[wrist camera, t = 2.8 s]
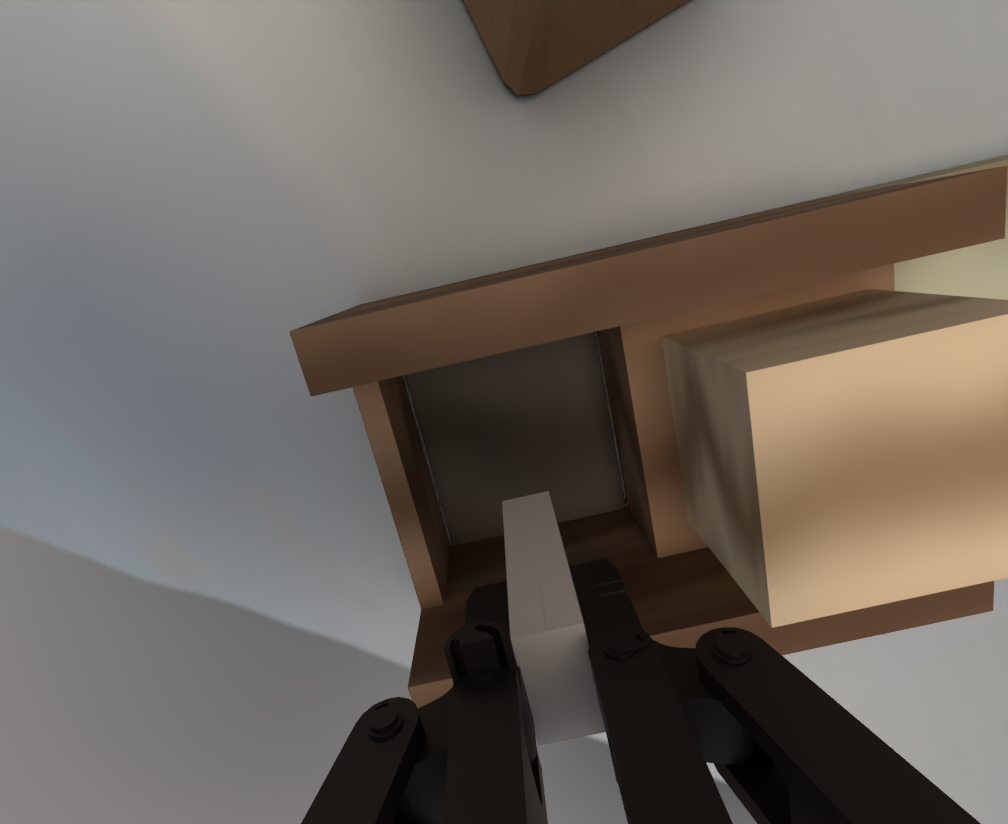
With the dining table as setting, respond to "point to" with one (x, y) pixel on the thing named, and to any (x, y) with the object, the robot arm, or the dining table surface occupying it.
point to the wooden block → (556, 34)
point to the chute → (625, 397)
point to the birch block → (847, 448)
